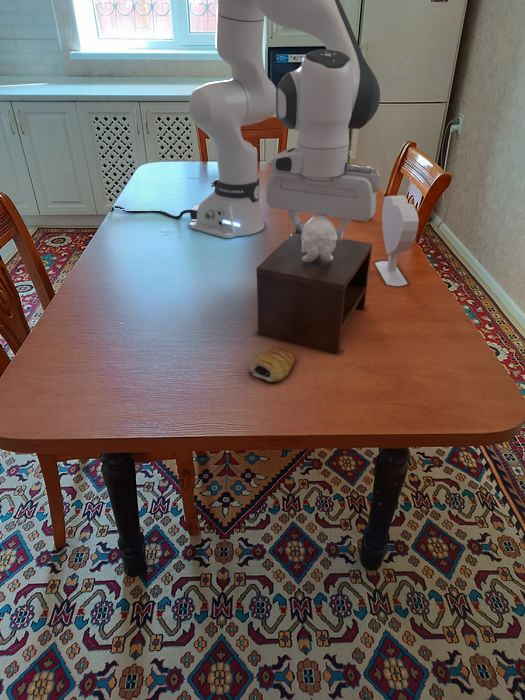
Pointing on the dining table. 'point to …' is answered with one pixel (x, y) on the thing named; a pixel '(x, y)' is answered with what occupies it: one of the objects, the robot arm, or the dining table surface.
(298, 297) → the shelf stand
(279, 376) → the pastry
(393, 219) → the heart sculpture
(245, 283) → the dining table surface
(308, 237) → the white figurine
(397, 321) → the dining table surface
